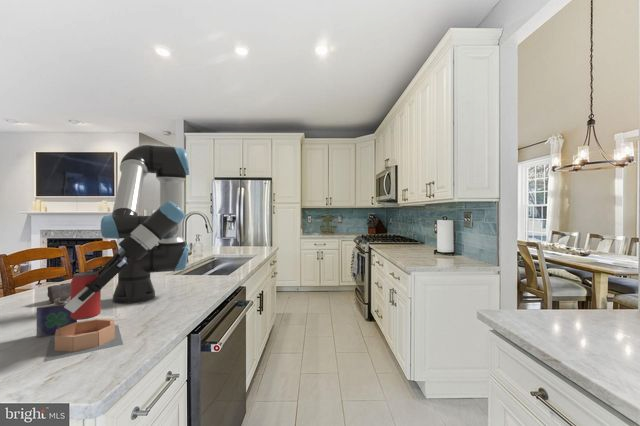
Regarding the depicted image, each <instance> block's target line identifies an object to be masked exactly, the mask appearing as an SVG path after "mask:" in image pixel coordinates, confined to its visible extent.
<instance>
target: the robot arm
mask: <svg viewBox="0 0 640 426" xmlns="http://www.w3.org/2000/svg"><path fill="white" fill-rule="evenodd" d="M188 159H189V158H188V154H187V150H186V149H185V148H181V147H176V146H164V145H163V146H162V145H151V144H144V145H139V146H137V147H135V148H132V149H131V150H130V151H128V152H126V154H125V155H124V156H123V157H122V158H121V161H120V165H119V171H120V173H121V174H120V178H119V182H118V186H117V191H116V194H115V195H116V196H115V200H114V204H113V209H112V211H111V214H109V215H103V217H102V218H101V220H100V221H101V222H100V233H101V236H102V237H103V238H104V239H113V240H115V239H117V240H119V239H122V240H121V241H120V242H119V243H118V245H119V248H118V252H116V253H115V254H114V255H113V256H112V258H110V259H109V260H108V261H107V262H106V263H105V264H103V266H101V268H99V269H98V270H97V271H96V272H98V274H99V276H98V277H97V278H96V279H95V280H94V281H93V282H92V283H91V284H86V285H85V286H86V287H85V288H84V289H83V290H82V291H81V292H79V293H78V294H77V295H76V296H75V297H74V298H73V299H72V300H71V296H70V297H69V298H68V299H67V300H65V303H67V304H66V305H65V306H64V308H66V309H68V310H69V311H71V312H72V313H74V312H75V311H76V310H77V309H78V308H79V307H80V306H82V305H83V304H84V303H85V302H86V301H87V300H88V299H89V298H90V297H91V296H92V295H93V294H94V293H96V292H99V291H100V290H102V289H103V288H104V287H105V286H106V285H107V284H108V283H109V282H110V281H111V280H112V279H113V278H114V277H115V276H117V284H116V287H115V290H114V292H113V294H112V302H113V303H115V304H122V305H123V304H135V303H136V304H137V303H142V302H145V301H150V300H152V299H153V298H155V297H156V291H155V288H154V285H153V282H152V279H151V274H152V273H165V272H166V273H167V272H179V271H184V270H185V269H186V268H187V264H188V263H187V262H188V257H189V249H190V245H189V243H186V239H185V238H184V237H183V220H184V219H185V218H186V213H185V212H184V210H183V182H185V181H186V180H187V178H186V177H187V176H189V175H190V170H189V169H190V168H189V160H188ZM148 174H155V179H157V180H158V181H159V201H160V202H159V204H160V205H159V207H158V208H157V210H155V211H154V212H153V213H152V214H151V215H139V212H140V206H141V205H140V204H141V199H142V193H143V185H144V179H145V177H146V176H147V175H148Z"/></svg>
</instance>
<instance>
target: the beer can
mask: <svg viewBox="0 0 640 426" xmlns="http://www.w3.org/2000/svg"><path fill="white" fill-rule="evenodd" d="M72 276H73V277H72V279H71V281H70V283H71V300H72V299H73V298H74V297H75V296H76V295H77V294H78V293H79V292H81V291H82V290H83V289H84V288H85V287H86V286H85V285H86V284H91V283H92V282H93V281H94V280H95V279H96V278H97V277H98V276H99V274H98V272H97V271H83V272H77V273H74V274H72ZM101 290H102V289H101ZM101 290H100V291H99V292H96V293H94V294H93V295H92V296H91V297H90V298H89V299H88V300H87V301H86V302H85V303H84V304H83V305H82V306H80V307H79V308H78V309H77V310H76V311H75V312H74V313H72V312H71V318H72V319H75V320H77V321H84V320H88V319H89V320H90V319H93V318H96V317H97V316H99V315H100V314H101V296H102V295H101V292H102V291H101Z"/></svg>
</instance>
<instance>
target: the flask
mask: <svg viewBox="0 0 640 426" xmlns="http://www.w3.org/2000/svg"><path fill="white" fill-rule="evenodd" d="M54 301H55V302H53V303H54V304H52V303H51V304H46V305H45V304H44V305H40V306H37V307H36V325H35V327H36V335H35V337H36V338H42V337H49V336H55V332H56V330H57V329H59V328H61V327H64V326H67V325H69V324H72V323H75V322H78V320H75V319H72V318H71V311H69V310H68V309H66V308H64V306H65V305H66V304H67V303H68V302H66V301H60V298H57V299H55V300H54Z"/></svg>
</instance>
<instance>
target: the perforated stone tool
mask: <svg viewBox="0 0 640 426" xmlns="http://www.w3.org/2000/svg"><path fill="white" fill-rule="evenodd" d="M70 296H71V282H67V283H60V284H58V285H57V284H56V285H55V284H54V285H49V286H47V297H48V301H49V302H51V303H54V302H55V301H54V300H55V299H57V298H60V301H63V302H65V301H66V300H67V299H68V298H69V297H70Z"/></svg>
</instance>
